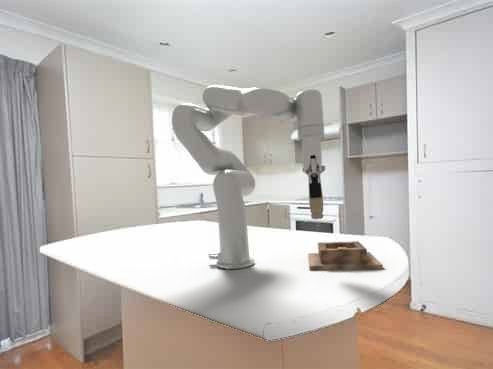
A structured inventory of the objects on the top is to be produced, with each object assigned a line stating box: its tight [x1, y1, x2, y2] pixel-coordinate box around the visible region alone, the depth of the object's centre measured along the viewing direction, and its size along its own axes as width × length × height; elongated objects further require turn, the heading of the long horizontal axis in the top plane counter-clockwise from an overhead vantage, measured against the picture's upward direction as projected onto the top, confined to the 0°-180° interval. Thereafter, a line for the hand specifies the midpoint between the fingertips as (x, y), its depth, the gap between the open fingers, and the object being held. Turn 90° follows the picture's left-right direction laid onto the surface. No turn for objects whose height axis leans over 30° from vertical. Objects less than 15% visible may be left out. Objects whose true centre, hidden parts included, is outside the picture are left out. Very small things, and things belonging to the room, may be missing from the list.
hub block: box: [307, 240, 384, 271], centre depth 90 cm, size 20×16×6 cm
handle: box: [301, 165, 326, 220], centre depth 83 cm, size 5×6×15 cm
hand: (315, 196), depth 83 cm, fingers closed on handle, 3 cm apart
